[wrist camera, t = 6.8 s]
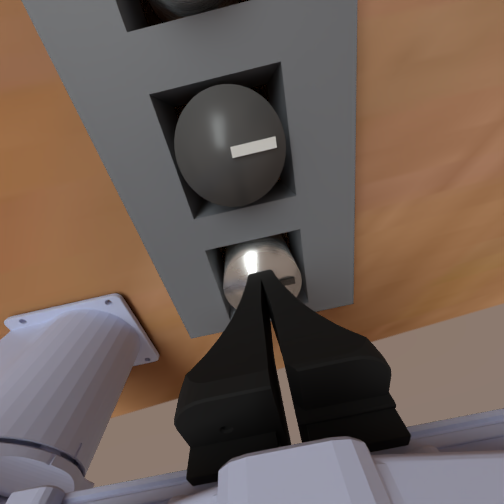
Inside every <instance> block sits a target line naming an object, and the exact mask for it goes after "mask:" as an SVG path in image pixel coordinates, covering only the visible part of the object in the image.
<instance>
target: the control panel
mask: <svg viewBox="0 0 504 504" xmlns="http://www.w3.org/2000/svg"><path fill="white" fill-rule="evenodd" d="M22 2H23V4H24V6H25V8H26V10H27V12H28V14H29V16H30V18H31V20H32V22H33V24H34V26H35V28H36V30H37V32H38V34H39V36H40V38H41V40H42V42H43V44H44V46H45V48H46V50H47V52H48V54H49V56H50V58H51V60H52V62H53V64H54V66H55V68H56V70H57V72H58V74H59V76H60V78H61V80H62V82H63V84H64V86H65V88H66V90H67V92H68V94H69V96H70V98H71V100H72V102H73V104H74V106H75V108H76V110H77V112H78V114H79V116H80V118H81V120H82V122H83V124H84V126H85V128H86V130H87V132H88V134H89V136H90V138H91V140H92V142H93V144H94V146H95V148H96V150H97V152H98V154H99V156H100V158H101V160H102V162H103V164H104V166H105V168H106V170H107V172H108V174H109V176H110V178H111V180H112V182H113V184H114V186H115V188H116V190H117V192H118V194H119V196H120V198H121V200H122V202H123V204H124V206H125V208H126V210H127V212H128V214H129V216H130V218H131V220H132V222H133V224H134V226H135V228H136V230H137V232H138V234H139V236H140V238H141V240H142V242H143V244H144V246H145V248H146V250H147V252H148V254H149V256H150V258H151V260H152V262H153V264H154V266H155V268H156V270H157V272H158V274H159V276H160V278H161V280H162V282H163V284H164V285H165V287H166V289H167V291H168V293H169V295H170V297H171V299H172V301H173V303H174V305H175V307H176V309H177V311H178V313H179V315H180V317H181V319H182V321H183V323H184V325H185V327H186V329H187V331H188V333H189V335H190V337H191V338H196V337H200V336H205V335H210V334H214V333H219V332H224V330H225V329H226V327H227V325H228V324H229V322H230V320H231V319H232V317H233V315H234V313H235V311H236V309H235V308H234V307H233V306H232V305H231V304H230V303H229V302H228V300H227V299H226V297H225V294H224V289H223V283H224V267H225V265H224V262H223V259H222V256H221V253H220V250H219V247H223V246H228V245H232V244H237V243H241V242H245V241H250V240H254V239H259V238H263V237H267V236H272V235H276V234H281V233H285V232H288V235H289V242H290V249H291V254H292V256H293V258H294V260H295V263H296V265H297V267H298V269H299V271H300V273H301V278H302V283H301V289H300V292H299V294H298V296H297V297H296V298H297V299H299V300H300V301H301V302H302V303H303V304H305V305H306V306H307V307H309V308H310V309H312V310H313V311H314V312H317V311H322V310H326V309H331V308H336V307H340V306H345V305H350V304H353V294H354V218H355V142H356V67H357V0H250V1H246V2H242V3H238V4H234V5H231V6H227V7H223V8H219V9H215V10H211V11H208V12H204V13H200V14H196V15H192V16H188V17H184V18H181V19H177V20H173V21H169V22H165V23H161V24H158V25H154V26H150V27H148V25H147V22H146V19H145V16H144V12H143V9H142V6H141V3H140V0H22ZM221 84H235V85H241V86H244V87H247V88H252V87H256V86H260V85H264V84H267V90H268V96H269V103H270V105H271V106H272V107H273V109H274V110H275V112H276V113H277V115H278V117H279V119H280V121H281V123H282V126H283V130H284V134H285V139H286V156H285V162H284V166H283V169H282V172H281V174H280V180H281V181H279V182H276V183H275V185H274V186H273V187H272V189H271V190H270V191H269V192H268V193H267V194H265V195H264V196H263V197H262V198H260V199H258V200H257V201H255V202H253V203H250V204H247V205H244V206H238V207H228V206H221V205H217V204H214V203H212V202H210V201H208V200H206V199H203V197H201V196H200V195H199V194H197V193H196V192H195V191H194V190H193V189H192V188H191V187H190V186H189V184H188V183H187V182H186V180H185V179H184V177H183V175H182V173H181V171H180V169H179V166H178V163H177V160H176V156H175V149H174V138H175V130H176V126H177V122H178V118H177V115H176V112H175V109H174V107H175V106H179V105H184V104H188V102H189V101H190V100H191V99H192V98H193V97H194V96H196V95H197V94H198V93H200V92H201V91H203V90H205V89H207V88H209V87H212V86H215V85H221ZM270 321H271V318H270Z"/></svg>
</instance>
